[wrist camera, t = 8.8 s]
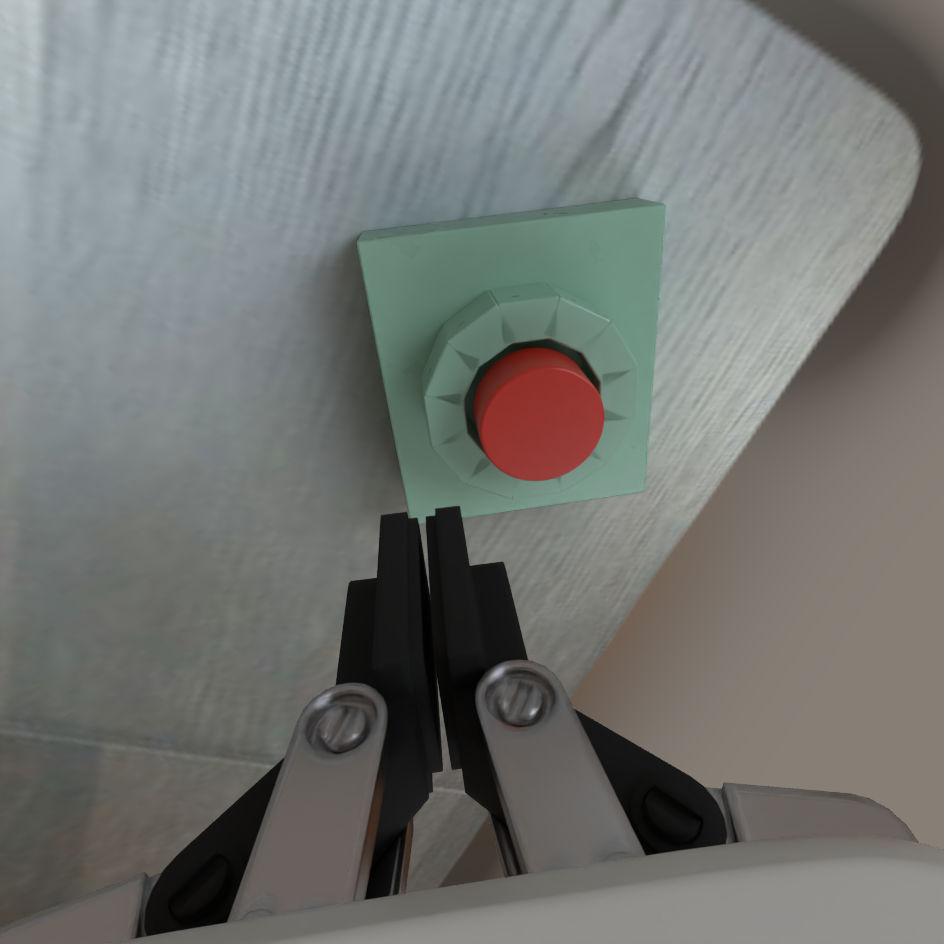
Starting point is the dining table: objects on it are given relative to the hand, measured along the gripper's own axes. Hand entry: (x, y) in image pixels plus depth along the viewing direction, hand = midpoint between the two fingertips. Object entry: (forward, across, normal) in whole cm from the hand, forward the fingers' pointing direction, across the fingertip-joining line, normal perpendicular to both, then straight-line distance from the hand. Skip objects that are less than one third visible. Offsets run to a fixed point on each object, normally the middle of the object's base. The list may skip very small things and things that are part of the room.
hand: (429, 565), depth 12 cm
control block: (+10, -4, -1) cm, 10 cm away
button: (+6, -3, -1) cm, 7 cm away
